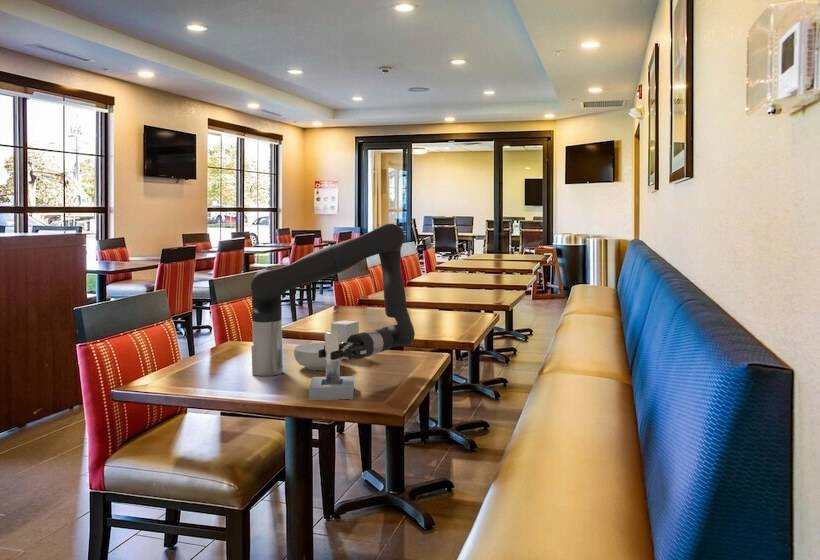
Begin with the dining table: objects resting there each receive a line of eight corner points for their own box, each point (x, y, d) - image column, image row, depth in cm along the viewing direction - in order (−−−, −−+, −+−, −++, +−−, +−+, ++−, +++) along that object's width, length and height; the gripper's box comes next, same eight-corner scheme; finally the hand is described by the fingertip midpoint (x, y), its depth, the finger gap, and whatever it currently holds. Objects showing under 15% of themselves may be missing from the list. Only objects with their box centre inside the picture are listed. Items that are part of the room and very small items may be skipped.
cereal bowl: (349, 372, 211) (348, 350, 210) (297, 375, 206) (297, 353, 206) (339, 360, 227) (339, 340, 226) (291, 364, 223) (291, 343, 222)
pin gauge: (325, 383, 183) (324, 334, 181) (326, 379, 187) (324, 331, 185) (339, 382, 183) (338, 333, 182) (340, 378, 187) (339, 331, 186)
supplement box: (360, 356, 234) (359, 321, 233) (347, 360, 228) (346, 324, 227) (343, 353, 238) (343, 319, 237) (330, 357, 232) (330, 322, 231)
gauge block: (309, 400, 179) (308, 387, 179) (312, 388, 191) (312, 376, 191) (352, 399, 180) (352, 387, 179) (353, 387, 192) (353, 376, 191)
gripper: (347, 329, 199) (306, 339, 186) (383, 334, 191) (343, 345, 177) (347, 353, 200) (307, 365, 187) (383, 359, 192) (344, 372, 178)
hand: (325, 355), depth 182 cm, fingers closed on pin gauge, 4 cm apart
